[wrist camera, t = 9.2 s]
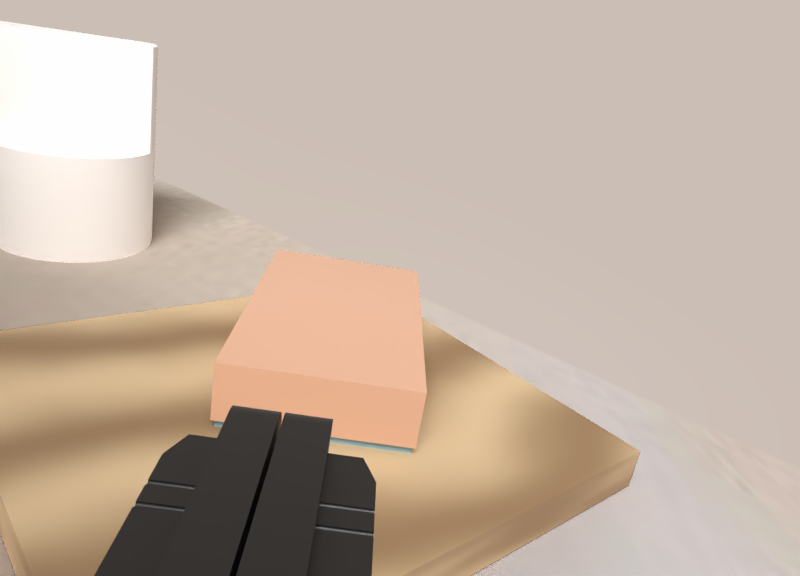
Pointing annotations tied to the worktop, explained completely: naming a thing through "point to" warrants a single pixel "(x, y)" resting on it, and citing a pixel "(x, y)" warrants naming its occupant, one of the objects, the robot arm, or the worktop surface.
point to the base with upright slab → (75, 144)
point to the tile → (330, 350)
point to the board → (393, 471)
